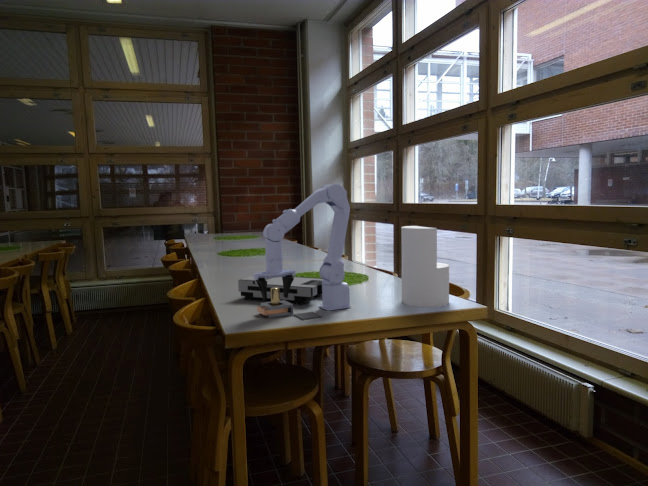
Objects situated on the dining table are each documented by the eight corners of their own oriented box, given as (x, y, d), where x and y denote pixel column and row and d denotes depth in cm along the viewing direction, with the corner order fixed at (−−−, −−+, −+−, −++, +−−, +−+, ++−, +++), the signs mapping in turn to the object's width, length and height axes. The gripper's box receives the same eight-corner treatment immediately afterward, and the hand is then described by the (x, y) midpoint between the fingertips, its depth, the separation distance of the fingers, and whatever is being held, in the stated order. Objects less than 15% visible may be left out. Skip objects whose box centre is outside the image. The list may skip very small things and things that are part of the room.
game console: (311, 306, 168) (310, 284, 168) (238, 300, 182) (238, 280, 181) (334, 295, 187) (333, 275, 186) (267, 290, 201) (266, 272, 200)
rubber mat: (312, 312, 158) (312, 311, 158) (321, 317, 152) (321, 315, 152) (293, 315, 155) (293, 314, 155) (302, 320, 149) (302, 318, 149)
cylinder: (414, 308, 161) (414, 229, 159) (394, 298, 178) (393, 226, 175) (458, 304, 166) (458, 227, 163) (434, 295, 183) (434, 225, 180)
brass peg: (278, 312, 160) (277, 287, 159) (281, 314, 157) (280, 288, 156) (270, 313, 158) (269, 288, 157) (273, 315, 156) (272, 289, 155)
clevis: (284, 309, 163) (284, 299, 163) (293, 314, 156) (293, 304, 156) (256, 313, 159) (256, 303, 158) (264, 318, 152) (264, 308, 151)
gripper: (257, 262, 149) (259, 303, 150) (298, 258, 156) (299, 298, 157) (250, 259, 155) (252, 299, 157) (290, 256, 162) (291, 294, 163)
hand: (275, 298), depth 157 cm, fingers open, 7 cm apart
